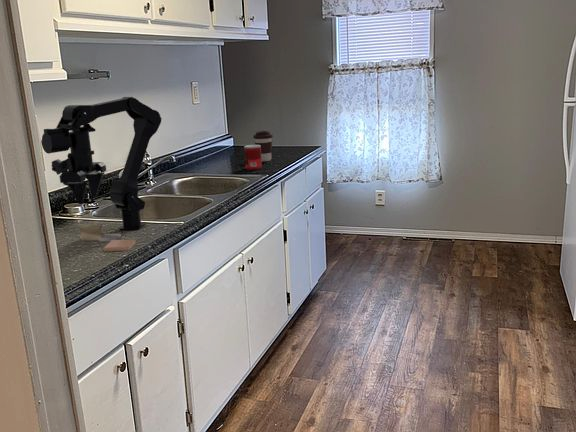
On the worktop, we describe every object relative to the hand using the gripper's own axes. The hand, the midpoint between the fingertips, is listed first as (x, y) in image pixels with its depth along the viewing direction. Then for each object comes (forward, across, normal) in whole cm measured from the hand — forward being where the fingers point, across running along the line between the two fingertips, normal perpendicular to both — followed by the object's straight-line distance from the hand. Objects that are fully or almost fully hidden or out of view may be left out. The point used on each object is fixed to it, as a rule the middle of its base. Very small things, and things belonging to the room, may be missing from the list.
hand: (87, 200), depth 175 cm
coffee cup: (+12, -136, +33) cm, 141 cm away
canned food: (+12, -114, +31) cm, 119 cm away
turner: (+12, 0, +2) cm, 12 cm away
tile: (+12, +8, +8) cm, 17 cm away
